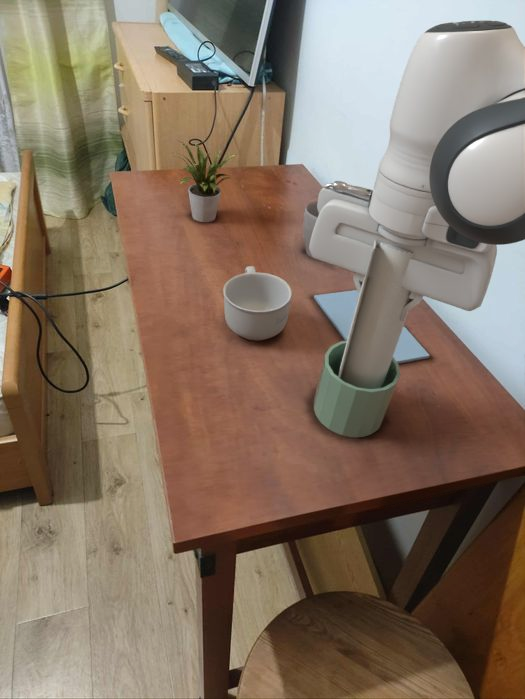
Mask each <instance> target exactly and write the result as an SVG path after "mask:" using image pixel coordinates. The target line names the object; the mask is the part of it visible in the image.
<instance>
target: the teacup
mask: <svg viewBox="0 0 525 699" xmlns="http://www.w3.org/2000/svg"><path fill="white" fill-rule="evenodd" d="M222 292H223V307H224V308H223V309H224V319H225V322H226V324H227V326H228V328H229V329H230V330H231V331H232V332H233V333H234V334H235V335H237V336H239V337H241V338H243V339H246V340H248V341H249V340H250V341H264V340H267V339H270V338H274V337H275V336H277V335H278V334H280V332H282V331H283V330H284V328H285V327H286V324H287V322H288V318H289V314H290V306H291V300H292V296H293V291H292V288H291V286H290V285H289V283H287V282H286V280H284V279H283V278H281V277H279V276H278V275H274V274H272V273H267V272H257V269H256V267H255V266H253V265H249V266H246V267H245V270H244V273H241V274H237V275H235V276H233V277H231V278H230V279H228V280H227V281H226V283H224V286H223V290H222Z"/></svg>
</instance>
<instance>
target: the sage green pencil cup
mask: <svg viewBox="0 0 525 699" xmlns="http://www.w3.org/2000/svg"><path fill="white" fill-rule="evenodd" d="M346 343H347V341H345V340H341V341H339V342H336V343H334V344H333V345H330V347H329V348H328V349H327V351H326V352H325V354H324V356H323V361H322V366H321V370H320V374H319V377H318V382H317V386H316V389H315V394H314V398H313V411H314V414H315V416H316V418H317V420H318V421H319V423H321V424H322V426H324V427H325V428H326V429H328V430H329V431H330V432H332V433H335V434H337V435H339V436H342V437H347V438H364V437H368V436H370V435H372V434H374V433H376V432H377V431H378V430H379V429H380V427H381V426H382V423H383V421H384V419H385V416H386V413H387V411H388V409H389V406H390V403H391V401H392V399H393V396H394V393H395V390H396V388H397V386H398V383H399V379H400V378H401V370H400V363H399V364H398V363H397V362H396V360H395V359H394V357H393V358H392V361H391V363H390V366H389V369H388V372H387V375H386V378H385V381H384V383H383V385H382V386H381V388H377V389H366V388H359V387H356V386H353V385H351V384H348V383H346V382H344V381H343V380H342V378H339V377H338V373H339V370H340V366H341V362H342V358H343V354H344V351H345V347H346Z"/></svg>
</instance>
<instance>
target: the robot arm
mask: <svg viewBox="0 0 525 699" xmlns="http://www.w3.org/2000/svg"><path fill="white" fill-rule="evenodd" d="M386 147H387V148H386V150H385V153H384V154H383V156H382V158H381V159H380V161H379V164H378V169H377V172H376V177H375V181H374V185H373V189H370V188H365V187H362V186H358V185H352V184H348V183H347V182H345V181H341V180H335V181H333V182H330V183H326V184H325V185H323V186H322V187H321V189H320V190H319V192H318V197H317V201H318V203H317V209H318V212H319V215H318V218H317V220H316V223H315V226H314V229H313V232H312V236H311V240H310V244H309V250H310V252H311V255H312V256H313V258H312V259H314V260H317V261H320V262H323V263H326V264H329V265H332V266H334V267H338V268H341V269H343V270H346V271H350V272H351V273H352V272H353V277H352V280H353V283H354V287H355V290H357V292H358V293H360V290H361V286H362V282H363V279H364V276H365V275H366V271H367V267H368V264H369V260H370V256H371V252H372V250H373V248H374V246H373V245H374V242H375V240H376V247H375V251H374V255H373V258H372V262H371V266H370V270H369V273H368V277H370V278H374V276H375V275H376V272H377V268H378V264H379V260H380V256H381V252H382V249H380V248H379V247H380V243H381V242H382V243H386V244H389V245H392V246H395V247H398V248H401V249H405V250H408V251H411V252H414V253H415V254H414V257H413V258H412V259H410V260H409V263H408V266H407V268H406V271H405V274H404V277H403V280H402V283H401V288H402V289H405V290H408V291H411V292H410V296H409V298H410V299H411V300H410V301H409V302H408V303H407V304H406V305H405V306H404V307H403V311H402V314H401V317H400V320H401V321H404V320H405V318H406V319H407V317H408V314H409V311H410V310H412V309H413V308H415V307H416V306H418V305H419V304H420V303H421V302H422V300H423V298H424V297H426V298H429V299H432V300H434V301H438V302H440V303H444V304H446V305H449V306H452V307H455V308H458V309H461V310H463V311H465V312H466V311H467V312H472V311H475V310H476V309H478V308H480V307H481V306H482V304H483V302H484V299H485V296H486V294H487V291H488V289H489V286H490V283H491V279H492V275H493V272H494V268H495V264H496V260H497V253H498V246H499V245H500V246H501V245H503V246H504V245H511V244H515V243H519V242H522V241H525V45H524V44H523V43H522V41H521V40H520V38H519V36H518V34H517V32H516V29H515V27H513V26H512V25H511V24H508V23H507V22H504V21H499V20H465V21H464V20H463V21H457V22H456V21H455V22H445V23H439V24H436V25H434V26H432V27H430V28H429V29H427V30H425V32H424V33H422V34H421V35H420V36H419V37H418V38H417V40H416V42H415V44H414V46H413V47H412V50H411V52H410V55H409V57H408V59H407V62H406V65H405V68H404V71H403V74H402V77H401V81H400V82H399V86H398V90H397V93H396V96H395V100H394V104H393V106H392V112H391V114H390V120H389V140H388V145H387V146H386ZM358 297H359V295H358ZM357 301H358V299H357ZM356 304H357V302H356ZM406 316H407V317H406ZM405 321H406V320H405Z"/></svg>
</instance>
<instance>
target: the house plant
mask: <svg viewBox="0 0 525 699" xmlns="http://www.w3.org/2000/svg"><path fill="white" fill-rule="evenodd" d="M176 141H178V142H179V143H181V145H183V146H184V148H185V149H186V151H187V153H188V155H189V157H190V159H191V160H190V159H189V158H188V157H186V156H185V155H184V154H181V153H178V152H172V154H175V155H173V156H172V157H173V158H174V157H175V158H180V159H181V157H180V155H181V156H182V157H183V158H185V159H186V160H185V159H183V158H182V160H183V161H184V162H185V164H186V165H187V166H185V167H183V170H185V171H186V172H187V173H189V174H190V175H191V176H192V177H190V176H185V177H184V176H183V175H182V174H180V173H177V175H178V176H181V177H182V179H181V180H180V183H179V185H182V184H183V183H186V182H189V183H190V184H191V185H190V186H189V187H188V189H187V190H188V197H189V204H190V211H191V217H192V219H193V220H194V221H197V222H200V223H210V222H213V221H215V219H216V216H217V213H218V207H219V203H220V198H221V194H222V190H221V189H220V187H218V185H219V184H220V183H222V182H223V181H225V180H228V179H231V180H233V178H232V177H231V176H230V175H229V174H226V173H218V171H219V170H220V169H221V168H222V167H223V166H224V165H225V164H226V163H227V162H228V161H230V160H231V159H232V158H234V157H235V156H238V155H239V154H238V153H235V154H232V155H229V156H228V157H227V158H226V159H224V160H223V161H222V162H221V163H218V161H219V160H220V159H219V158H220V155H221V152H222V148H220V149H219V150H218V152H217V154H216V156H215V158H214V161H213V163H211V164H209V165H208V169H207V164H208V158H209V156H210V155H211V154H212V152H210V153H209V154H208V152H209V149H210V147H211V145H212V144H210V145H209V147H208V150H207V152H206V154H207V155H206V156H205V155H204V153H203V151H202V149H201V148H200V146H199V144H198V143H197V142H196V141H195V142H194V146H195V147H196V154H197V156H196V157H197V161H198V163H197V162H196V160H195V158H194V155H193V153H192V151H191V149H190V148H189V146H188V145H187V144H185V143H184V142H183V141H182V140H178V139H176ZM177 155H179V156H177ZM187 161H188V162H189V163H190V165H189V163H188V162H187ZM221 177H223V178H222V179H220V178H221ZM218 179H220V180H219V181H218V182H217V180H218ZM190 180H194V182H195V184H193V183H191V181H190ZM216 182H217V183H216Z"/></svg>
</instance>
